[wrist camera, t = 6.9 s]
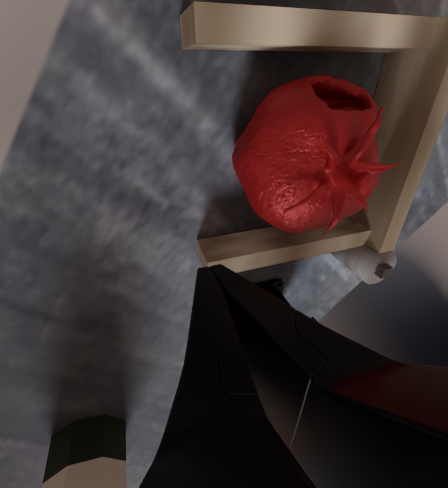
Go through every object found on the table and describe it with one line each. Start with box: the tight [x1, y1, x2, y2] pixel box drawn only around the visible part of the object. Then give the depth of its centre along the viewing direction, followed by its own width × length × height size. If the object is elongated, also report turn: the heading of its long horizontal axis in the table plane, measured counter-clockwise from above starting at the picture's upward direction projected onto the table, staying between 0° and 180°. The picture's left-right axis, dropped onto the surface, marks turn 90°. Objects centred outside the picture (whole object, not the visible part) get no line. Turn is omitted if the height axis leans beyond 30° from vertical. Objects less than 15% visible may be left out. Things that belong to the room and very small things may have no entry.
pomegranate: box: [232, 74, 402, 238], centre depth 17 cm, size 10×10×9 cm
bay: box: [180, 1, 448, 284], centre depth 20 cm, size 18×20×6 cm
